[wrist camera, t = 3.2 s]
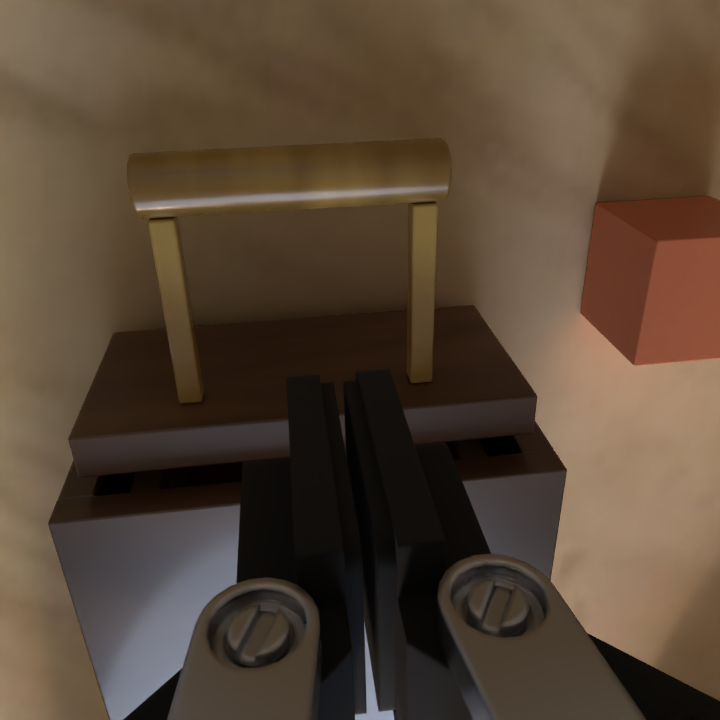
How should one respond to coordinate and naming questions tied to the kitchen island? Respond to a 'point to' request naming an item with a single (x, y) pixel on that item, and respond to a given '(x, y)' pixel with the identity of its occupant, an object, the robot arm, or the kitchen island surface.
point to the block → (656, 278)
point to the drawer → (288, 326)
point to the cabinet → (220, 554)
